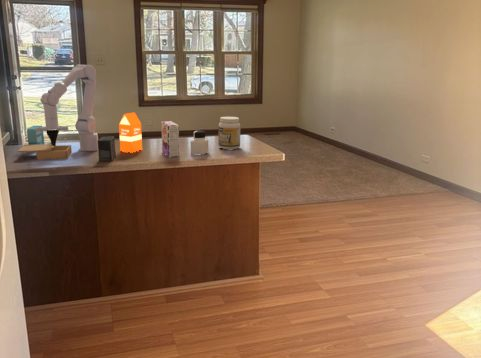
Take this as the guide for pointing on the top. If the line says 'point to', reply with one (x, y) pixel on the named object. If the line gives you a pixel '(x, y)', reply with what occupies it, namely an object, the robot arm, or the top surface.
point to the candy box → (170, 138)
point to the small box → (106, 149)
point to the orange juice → (130, 133)
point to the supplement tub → (229, 133)
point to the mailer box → (55, 153)
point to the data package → (35, 136)
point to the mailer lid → (37, 148)
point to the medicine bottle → (199, 143)
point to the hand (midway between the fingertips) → (54, 145)
